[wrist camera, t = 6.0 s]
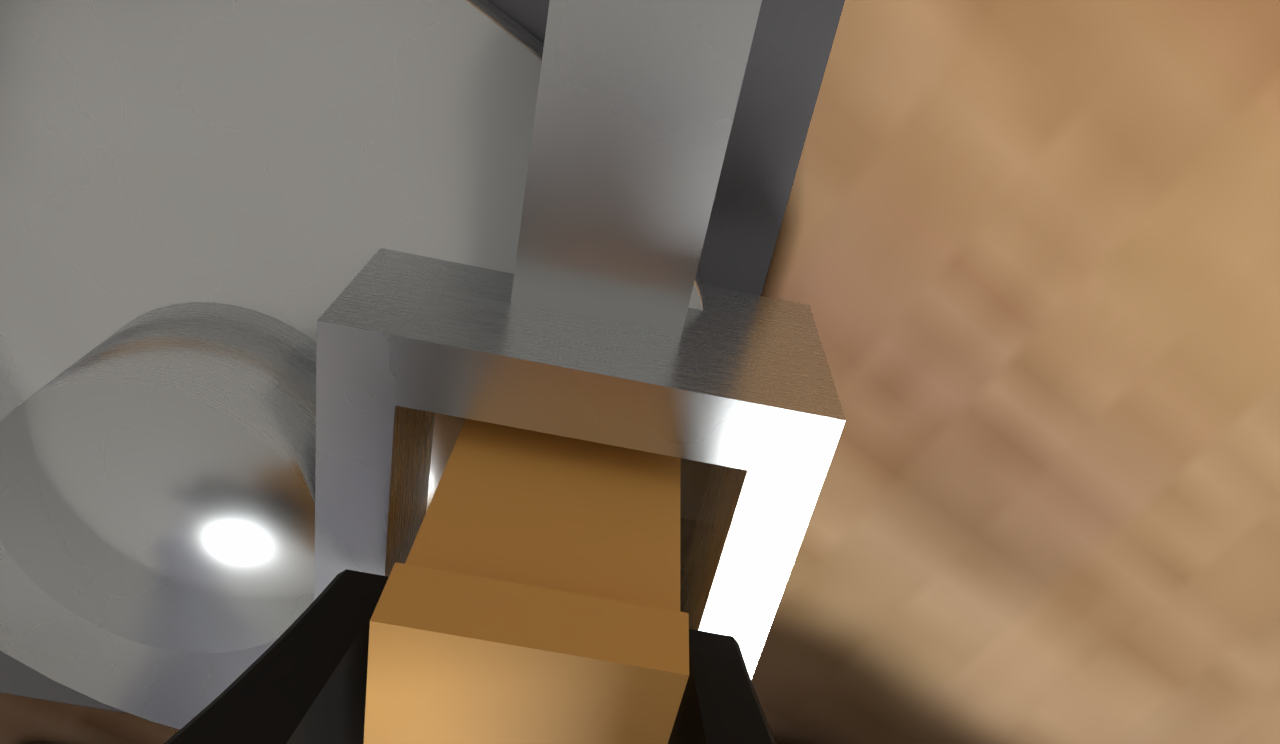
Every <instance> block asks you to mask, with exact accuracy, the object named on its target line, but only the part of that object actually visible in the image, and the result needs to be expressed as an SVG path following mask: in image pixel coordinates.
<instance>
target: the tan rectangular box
mask: <svg viewBox="0 0 1280 744" xmlns="http://www.w3.org/2000/svg"><path fill="white" fill-rule="evenodd" d="M680 501H681V458H678V457H672V456H667V455H662V454H656V453H651V452H645V451H640V450H634V449H629V448H624V447H618V446H613V445H607V444H602V443H596V442H591V441H586V440H580V439H575V438H569V437H564V436H558V435H553V434H548V433H542V432H537V431H531V430H526V429H520V428H515V427H510V426H504V425H499V424H493V423H488V422H483V421H477V420H472V419H465V421H464V424H463V426H462V429H461V431H460V433H459V436H458V438H457V440H456V443H455V445H454V448H453V450H452V452H451V455H450V457H449V460H448V462H447V464H446V467H445V469H444V472H443V474H442V476H441V479H440V481H439V484H438V486H437V488H436V491H435V493H434V495H433V498H432V500H431V503H430V505H429V507H428V510H427V512H426V515H425V517H424V519H423V522H422V524H421V527H420V529H419V531H418V534H417V536H416V539H415V541H414V543H413V546H412V548H411V551H410V553H409V555H408V558H407V560H406V562H405V564H403V563H397V562H395V564H394V566H393V569H392V571H391V573H390V576H389V578H388V580H387V583H386V585H385V587H384V589H383V592H382V594H381V596H380V599H379V601H378V603H377V606H376V608H375V610H374V613H373V615H372V617H371V619H370V628H369V647H368V667H367V686H366V706H365V725H364V744H668V741H669V738H670V735H671V732H672V729H673V725H674V722H675V719H676V716H677V713H678V709H679V706H680V703H681V700H682V697H683V693H684V690H685V687H686V684H687V681H688V677H689V613H685V612H680Z"/></svg>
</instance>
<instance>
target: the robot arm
mask: <svg viewBox="0 0 1280 744" xmlns="http://www.w3.org/2000/svg"><path fill="white" fill-rule="evenodd" d="M388 578H389V577H388V576H382V575H377V574H371V573H365V572H359V571H354V570H348V569H346V570H344V571H343V572H341V573H339V574H337V575H336V577H335V578H334V579H333V580H332V581H331V582H330V583H329V585H328V586H327V587H326V588H325V589H324V590H323V591H322V593H321V594H320V595H319V596H318V597H317V598H316V599H315V600H314V601H313V602H312V603H311V605H310V606H309V607H308V608H307V609H306V610H305V611H304V612H303V613H302V614H301V615H300V616H299V617H298V618H297V619H296V620H295V622H294V623H293V624H292V625H291V626H290V627H289V628H288V629H287V630H286V631H285V632H284V633H283V634H282V635H281V636H280V637H279V638H278V639H277V640H276V641H275V642H274V643H273V644H272V645H271V646H270V647H269V648H268V649H267V650H266V651H265V652H264V653H263V654H262V655H261V656H260V657H259V658H258V659H257V660H256V661H255V662H253V663H252V664H251V665H250V666H249V667H248V668H247V669H246V670H245V671H244V672H243V673H242V674H241V675H240V676H239V677H238V678H237V679H236V680H235V681H234V682H233V683H232V684H231V685H229V686H228V687H227V688H226V689H225V690H224V691H223V692H222V693H221V694H220V695H219V696H218V697H217V698H216V699H214V700H213V701H212V702H211V703H210V704H209V705H208V706H207V707H206V708H204V709H203V710H202V711H201V712H200V713H199V714H197V715H196V716H195V717H194V718H193V719H192V720H191V721H189V722H188V723H187V724H186V725H185V726H184V727H183V728H181V729H180V730H179V731H178V732H177V733H176V734H175V735H173V736H172V737H171V738H170V739H169V740H168V741H167V742H165V743H164V744H364V725H365V706H366V686H367V667H368V647H369V628H370V619H371V617H372V615H373V613H374V610H375V608H376V606H377V603H378V601H379V599H380V596H381V594H382V592H383V589H384V587H385V585H386V583H387V580H388ZM668 744H776V742H775V740H774V738H773V735H772V733H771V730H770V728H769V725H768V723H767V720H766V718H765V715H764V713H763V710H762V708H761V705H760V703H759V700H758V697H757V695H756V692H755V689H754V687H753V684H752V681H751V678H750V676H749V673H748V670H747V667H746V664H745V661H744V658H743V655H742V652H741V649H740V646H739V644H738V642H737V641H736V639H735V638H734V637H733V636H728V635H722V634H716V633H711V632H705V631H699V630H693V629H689V677H688V681H687V684H686V687H685V690H684V693H683V697H682V700H681V703H680V706H679V709H678V713H677V716H676V719H675V722H674V725H673V729H672V732H671V735H670V738H669V741H668Z"/></svg>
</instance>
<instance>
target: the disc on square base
mask: <svg viewBox="0 0 1280 744" xmlns="http://www.w3.org/2000/svg"><path fill="white" fill-rule="evenodd" d="M844 1H845V0H0V693H6V694H12V695H18V696H24V697H30V698H37V699H43V700H49V701H55V702H61V703H67V704H74V705H80V706H86V707H92V708H98V709H104V710H110V711H117V712H123V713H129V714H133V715H136V716H138V717H141V718H144V719H146V720H149V721H152V722H155V723H158V724H162V725H165V726H169V727H172V728H176V729H179V730H180V729H181V728H183V727H184V726H185V725H186V724H187V723H188V722H189V721H191V720H192V719H193V718H194V717H195V716H196V715H197V714H199V713H200V712H201V711H202V710H203V709H204V708H206V707H207V706H208V705H209V704H210V703H211V702H212V701H213V700H214V699H216V698H217V697H218V696H219V695H220V694H221V693H222V692H223V691H224V690H225V689H226V688H227V687H228V686H229V685H231V684H232V683H233V682H234V681H235V680H236V679H237V678H238V677H239V676H240V675H241V674H242V673H243V672H244V671H245V670H246V669H247V668H248V667H249V666H250V665H251V664H252V663H253V662H255V661H256V660H257V659H258V658H259V657H260V656H261V655H262V654H263V653H264V652H265V651H266V650H267V649H268V648H269V647H270V646H271V645H272V644H273V643H274V642H275V641H276V640H277V639H278V638H279V637H280V636H281V635H282V634H283V633H284V632H285V631H286V630H287V629H288V628H289V627H290V626H291V625H292V624H293V623H294V622H295V620H296V619H297V618H298V617H299V616H300V615H301V614H302V613H303V612H304V611H305V610H306V609H307V608H308V607H309V606H310V605H311V603H312V602H313V601H314V600H315V599H316V598H317V597H318V596H319V595H320V594H321V593H322V591H323V590H324V589H325V588H326V587H327V586H328V585H329V583H330V582H331V581H332V580H333V579H334V578H335V577H336V575H337V574H339V573H341V572H343V571H344V570H346V569H348V570H354V571H359V572H365V573H371V574H377V575H382V576H388V577H389V576H390V573H391V571H392V569H393V566H394V564H395V562H397V563H403V564H405V562H406V560H407V558H408V555H409V553H410V551H411V548H412V546H413V543H414V541H415V539H416V536H417V534H418V531H419V529H420V527H421V524H422V522H423V519H424V517H425V515H426V512H427V510H428V507H429V505H430V503H431V500H432V498H433V495H434V493H435V491H436V488H437V486H438V484H439V481H440V479H441V476H442V474H443V472H444V469H445V467H446V464H447V462H448V460H449V457H450V455H451V452H452V450H453V448H454V445H455V443H456V440H457V438H458V436H459V433H460V431H461V429H462V426H463V424H464V421H465V419H472V420H477V421H483V422H488V423H493V424H499V425H504V426H510V427H515V428H520V429H526V430H531V431H537V432H542V433H548V434H553V435H558V436H564V437H569V438H575V439H580V440H586V441H591V442H596V443H602V444H607V445H613V446H618V447H624V448H629V449H634V450H640V451H645V452H651V453H656V454H662V455H667V456H672V457H678V458H681V501H680V612H685V613H689V629H693V630H699V631H705V632H711V633H716V634H722V635H728V636H733V637H734V638H735V639H736V641H737V642H738V644H739V646H740V649H741V652H742V655H743V658H744V661H745V664H746V667H747V670H748V673H749V676H750V678H751V679H752V676H753V674H754V671H755V668H756V665H757V663H758V660H759V657H760V654H761V652H762V649H763V646H764V643H765V641H766V638H767V635H768V632H769V630H770V627H771V624H772V621H773V619H774V616H775V613H776V610H777V608H778V605H779V602H780V600H781V597H782V594H783V591H784V589H785V586H786V583H787V580H788V578H789V575H790V572H791V569H792V567H793V564H794V561H795V558H796V556H797V553H798V550H799V547H800V545H801V542H802V539H803V536H804V534H805V531H806V528H807V525H808V523H809V520H810V517H811V515H812V512H813V509H814V506H815V504H816V501H817V498H818V495H819V493H820V490H821V487H822V484H823V482H824V479H825V476H826V473H827V471H828V468H829V465H830V462H831V460H832V457H833V454H834V451H835V449H836V446H837V443H838V441H839V438H840V435H841V432H842V430H843V427H844V424H845V421H846V420H845V416H844V413H843V410H842V407H841V404H840V401H839V397H838V394H837V391H836V388H835V385H834V382H833V378H832V375H831V372H830V369H829V366H828V363H827V360H826V356H825V353H824V350H823V347H822V344H821V341H820V337H819V334H818V331H817V328H816V325H815V322H814V318H813V315H812V312H811V309H810V306H809V305H805V304H800V303H795V302H790V301H784V300H779V299H774V298H769V297H764V296H761V294H762V290H763V287H764V283H765V280H766V276H767V273H768V269H769V266H770V262H771V259H772V255H773V252H774V248H775V245H776V241H777V237H778V234H779V230H780V227H781V223H782V220H783V216H784V213H785V209H786V206H787V202H788V199H789V195H790V192H791V188H792V185H793V181H794V178H795V174H796V171H797V167H798V164H799V160H800V156H801V153H802V149H803V146H804V142H805V139H806V135H807V132H808V128H809V125H810V121H811V118H812V114H813V111H814V107H815V104H816V100H817V97H818V93H819V90H820V86H821V83H822V79H823V75H824V72H825V68H826V65H827V61H828V58H829V54H830V51H831V47H832V44H833V40H834V37H835V33H836V30H837V26H838V23H839V19H840V16H841V12H842V9H843V5H844Z"/></svg>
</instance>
